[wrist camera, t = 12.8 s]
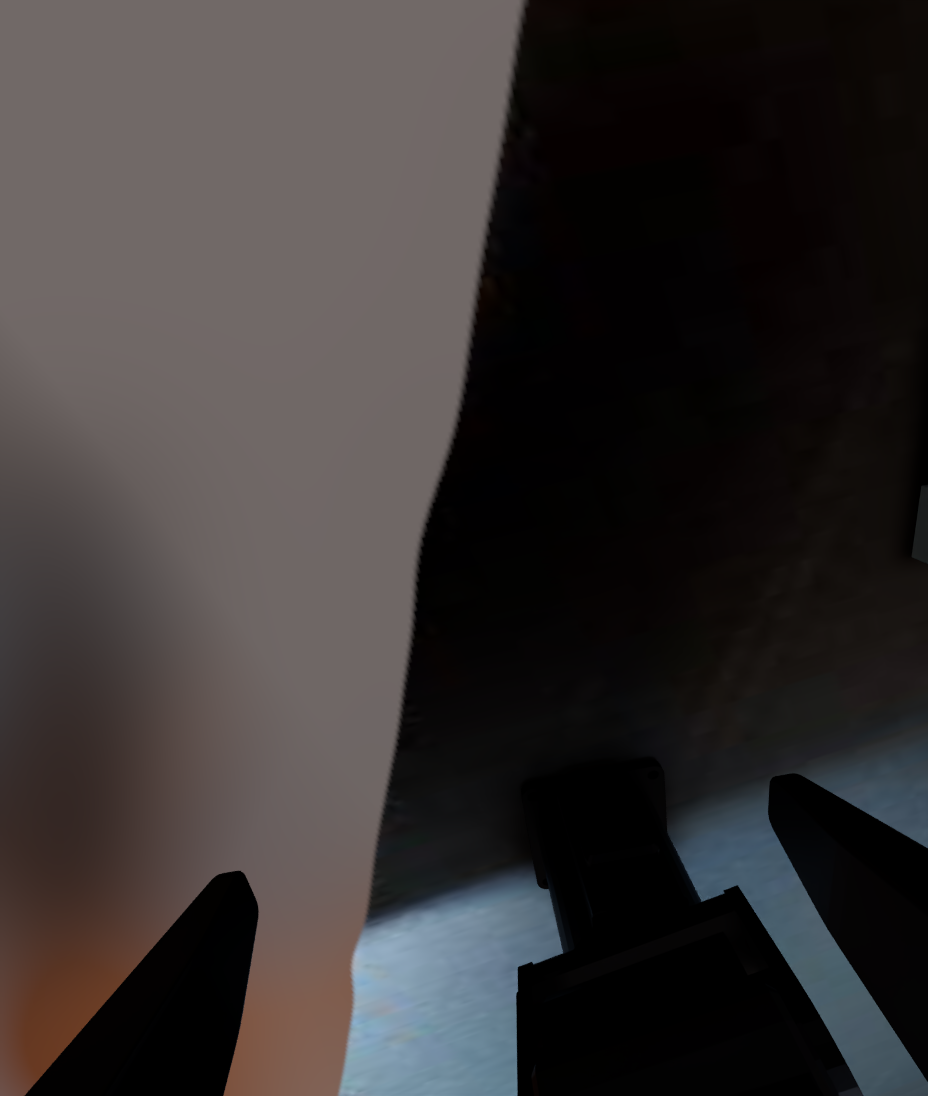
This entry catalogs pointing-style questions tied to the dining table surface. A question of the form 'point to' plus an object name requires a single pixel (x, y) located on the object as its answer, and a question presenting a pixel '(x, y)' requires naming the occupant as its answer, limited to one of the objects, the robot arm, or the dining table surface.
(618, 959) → the robot arm
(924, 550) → the teal stand
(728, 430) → the dining table surface
